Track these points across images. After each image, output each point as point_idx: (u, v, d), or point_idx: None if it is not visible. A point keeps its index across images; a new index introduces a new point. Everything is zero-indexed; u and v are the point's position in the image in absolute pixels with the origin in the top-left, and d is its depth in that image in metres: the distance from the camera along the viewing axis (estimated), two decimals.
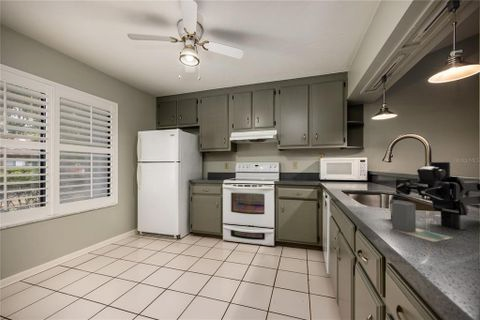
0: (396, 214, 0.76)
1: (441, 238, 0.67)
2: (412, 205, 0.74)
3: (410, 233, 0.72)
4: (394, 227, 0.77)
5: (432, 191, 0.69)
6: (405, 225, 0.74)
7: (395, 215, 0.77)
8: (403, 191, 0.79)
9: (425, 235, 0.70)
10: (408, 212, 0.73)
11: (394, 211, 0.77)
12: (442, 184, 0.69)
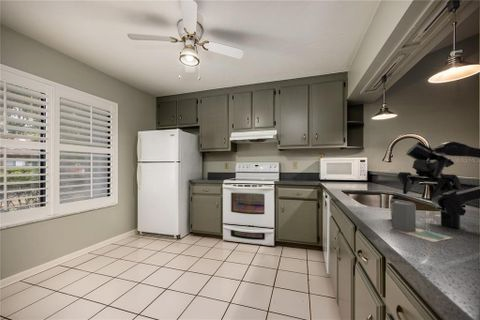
0: (396, 214, 0.76)
1: (441, 238, 0.67)
2: (412, 205, 0.74)
3: (410, 233, 0.72)
4: (394, 227, 0.77)
5: (437, 193, 0.75)
6: (405, 225, 0.74)
7: (395, 215, 0.77)
8: (409, 188, 0.85)
9: (425, 235, 0.70)
10: (408, 212, 0.73)
11: (394, 211, 0.77)
12: (442, 181, 0.74)
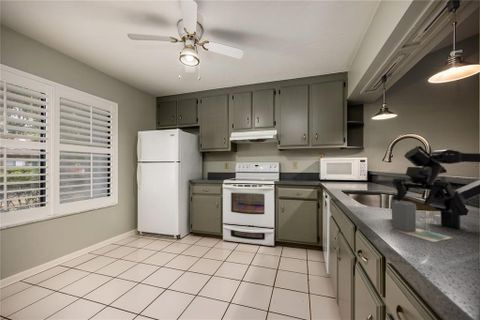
0: (396, 214, 0.76)
1: (441, 238, 0.67)
2: (412, 205, 0.74)
3: (410, 233, 0.72)
4: (394, 227, 0.77)
5: (430, 200, 0.74)
6: (405, 225, 0.74)
7: (395, 215, 0.77)
8: (403, 194, 0.84)
9: (425, 235, 0.70)
10: (408, 212, 0.73)
11: (394, 211, 0.77)
12: (435, 189, 0.73)
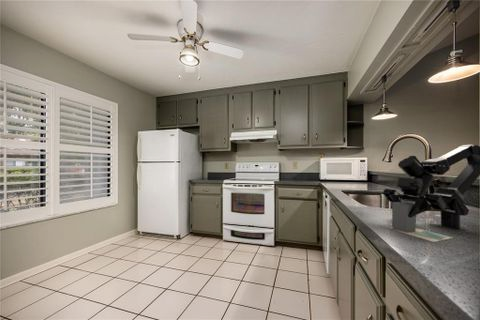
0: (396, 214, 0.76)
1: (441, 238, 0.67)
2: (412, 205, 0.74)
3: (410, 233, 0.72)
4: (394, 227, 0.77)
5: (414, 212, 0.73)
6: (405, 225, 0.74)
7: (395, 215, 0.77)
8: None
9: (425, 235, 0.70)
10: (408, 212, 0.73)
11: (394, 211, 0.77)
12: (419, 201, 0.73)
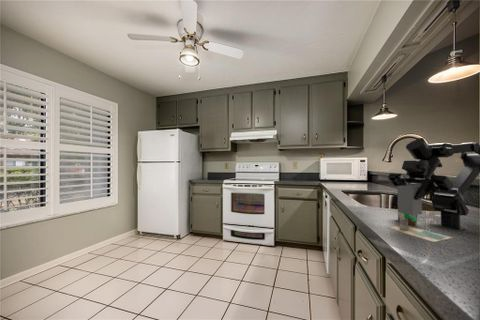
0: (402, 197, 0.75)
1: (441, 238, 0.67)
2: (418, 187, 0.73)
3: (410, 233, 0.72)
4: (400, 211, 0.76)
5: (420, 194, 0.72)
6: (411, 208, 0.73)
7: (401, 199, 0.76)
8: None
9: (425, 235, 0.70)
10: (414, 194, 0.72)
11: (399, 194, 0.76)
12: (426, 182, 0.71)
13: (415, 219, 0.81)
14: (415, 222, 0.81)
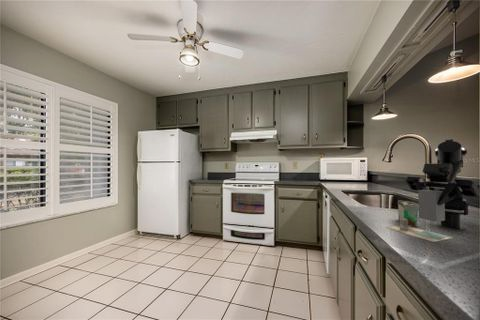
0: (423, 202, 0.71)
1: (441, 238, 0.67)
2: (441, 192, 0.69)
3: (410, 233, 0.72)
4: (421, 217, 0.72)
5: (444, 199, 0.68)
6: (434, 214, 0.68)
7: (422, 204, 0.71)
8: None
9: (425, 235, 0.70)
10: (437, 200, 0.68)
11: (421, 199, 0.72)
12: (450, 187, 0.67)
13: (415, 219, 0.81)
14: (415, 222, 0.81)
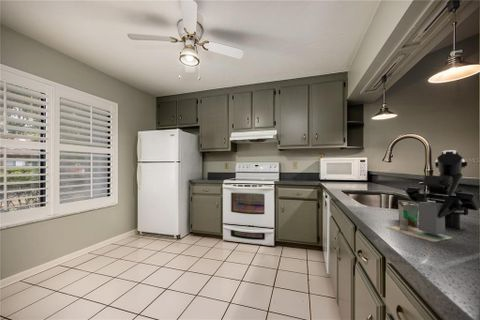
0: (423, 214, 0.71)
1: (441, 238, 0.67)
2: (441, 205, 0.69)
3: (410, 233, 0.72)
4: (421, 229, 0.71)
5: (444, 212, 0.68)
6: (434, 226, 0.68)
7: (422, 216, 0.71)
8: None
9: (425, 235, 0.70)
10: (437, 212, 0.68)
11: (421, 211, 0.72)
12: (450, 200, 0.67)
13: (415, 219, 0.81)
14: (415, 222, 0.81)
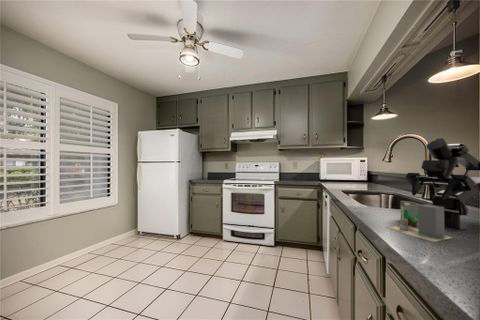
0: (423, 217, 0.71)
1: (441, 238, 0.67)
2: (441, 208, 0.69)
3: (410, 233, 0.72)
4: (421, 232, 0.72)
5: (448, 194, 0.72)
6: (434, 230, 0.68)
7: (422, 219, 0.71)
8: (418, 189, 0.83)
9: (425, 235, 0.70)
10: (437, 216, 0.68)
11: (420, 214, 0.72)
12: (453, 182, 0.71)
13: (416, 219, 0.80)
14: (416, 222, 0.81)
